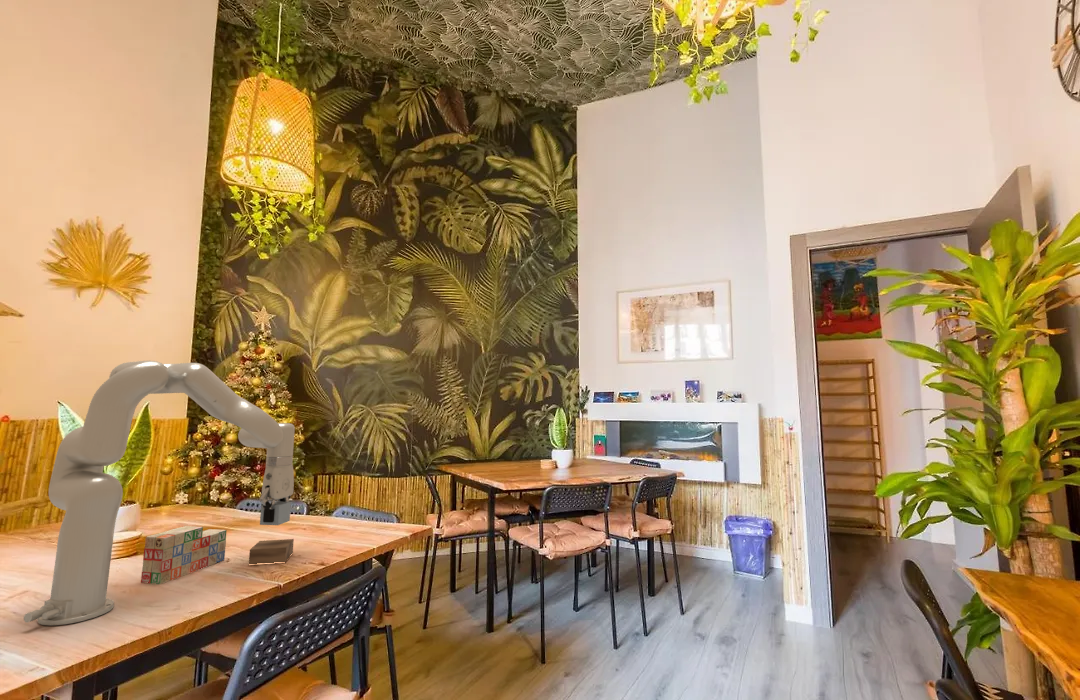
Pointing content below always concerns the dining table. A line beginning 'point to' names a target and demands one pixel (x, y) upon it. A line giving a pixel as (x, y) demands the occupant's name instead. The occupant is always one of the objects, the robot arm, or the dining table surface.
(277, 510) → the grey cube
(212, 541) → the stack of blocks
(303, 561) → the dining table surface
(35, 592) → the dining table surface
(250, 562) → the walnut block
